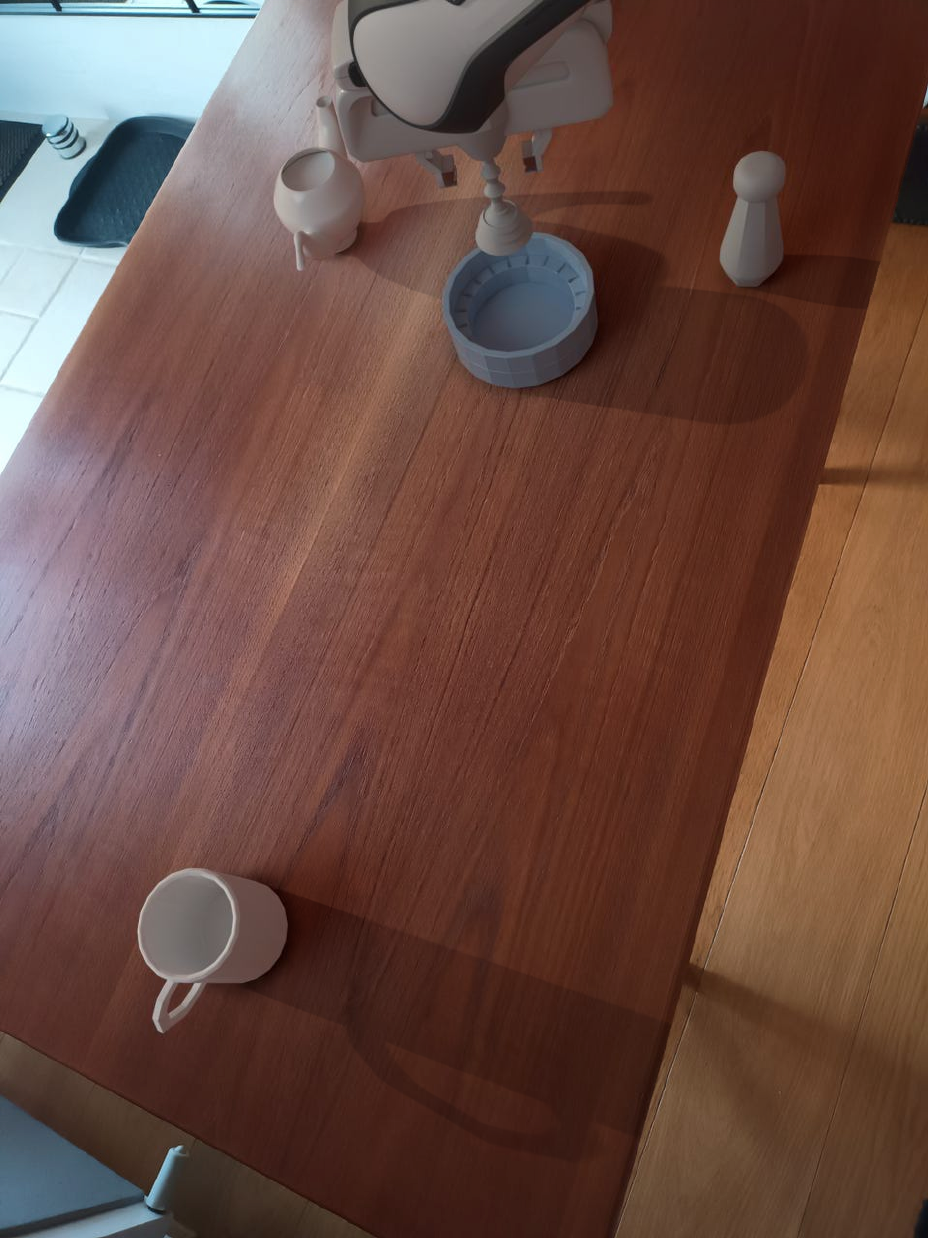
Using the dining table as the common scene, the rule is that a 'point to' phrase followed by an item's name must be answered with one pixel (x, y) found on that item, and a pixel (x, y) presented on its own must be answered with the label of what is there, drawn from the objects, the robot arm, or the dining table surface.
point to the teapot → (320, 192)
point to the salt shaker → (754, 221)
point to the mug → (208, 934)
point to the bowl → (522, 312)
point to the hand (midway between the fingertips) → (490, 173)
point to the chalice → (495, 189)
